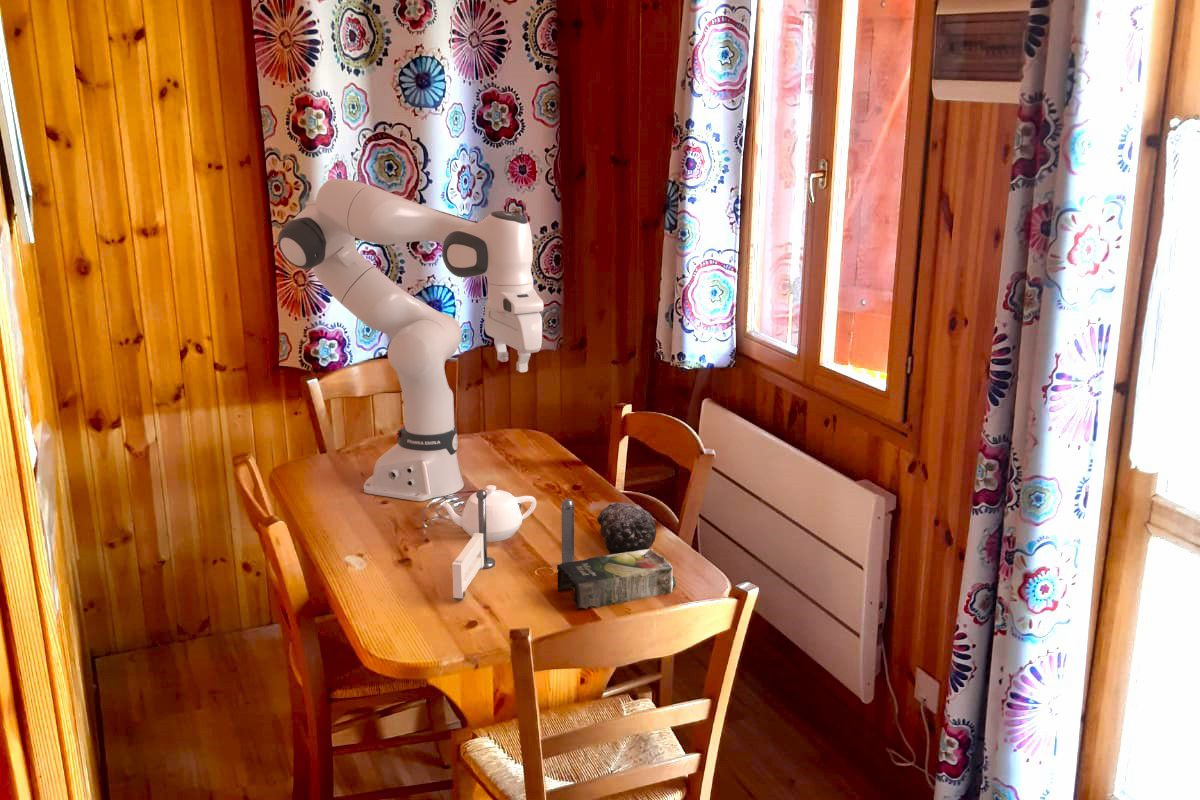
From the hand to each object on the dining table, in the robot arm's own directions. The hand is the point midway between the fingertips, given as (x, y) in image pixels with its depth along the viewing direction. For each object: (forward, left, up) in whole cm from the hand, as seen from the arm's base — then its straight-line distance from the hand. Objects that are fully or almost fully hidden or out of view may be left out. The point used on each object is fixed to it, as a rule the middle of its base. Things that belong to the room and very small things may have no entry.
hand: (512, 366), depth 215 cm
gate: (-2, -26, -35) cm, 44 cm away
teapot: (-5, -2, -35) cm, 36 cm away
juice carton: (+25, -24, -36) cm, 50 cm away
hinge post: (-2, -17, -35) cm, 39 cm away
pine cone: (+23, -4, -35) cm, 42 cm away
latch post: (+14, -15, -35) cm, 40 cm away
